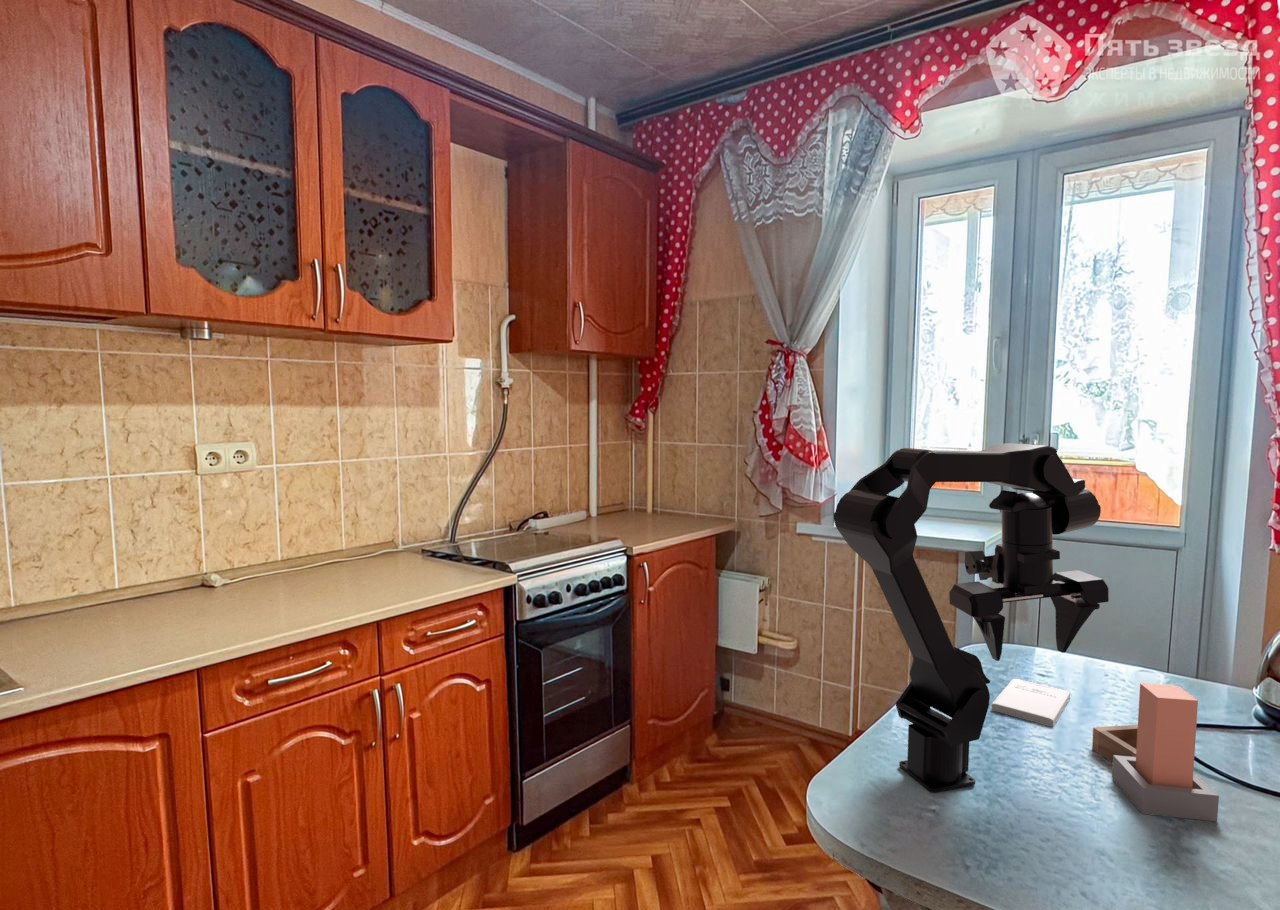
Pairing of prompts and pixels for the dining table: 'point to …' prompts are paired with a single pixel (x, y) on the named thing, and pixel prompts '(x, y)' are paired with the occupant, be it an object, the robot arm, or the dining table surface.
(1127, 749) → the walnut socket
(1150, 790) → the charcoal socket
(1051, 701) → the external hard drive
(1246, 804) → the dining table surface
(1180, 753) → the peg
